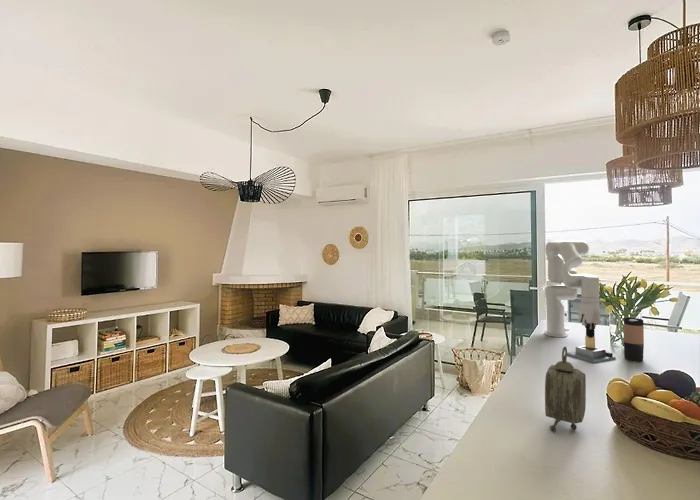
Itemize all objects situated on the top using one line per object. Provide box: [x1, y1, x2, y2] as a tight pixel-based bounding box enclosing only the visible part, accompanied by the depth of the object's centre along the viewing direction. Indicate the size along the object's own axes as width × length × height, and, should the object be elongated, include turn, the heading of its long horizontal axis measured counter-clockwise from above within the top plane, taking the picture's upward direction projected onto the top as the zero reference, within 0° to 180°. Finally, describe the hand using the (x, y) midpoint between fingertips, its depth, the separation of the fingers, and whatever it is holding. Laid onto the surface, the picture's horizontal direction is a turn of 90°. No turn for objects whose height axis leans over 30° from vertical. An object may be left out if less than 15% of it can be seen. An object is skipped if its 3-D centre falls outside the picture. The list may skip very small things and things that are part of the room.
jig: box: [567, 344, 617, 364], centre depth 176 cm, size 16×14×4 cm
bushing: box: [584, 335, 596, 350], centre depth 176 cm, size 4×4×9 cm
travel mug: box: [623, 317, 645, 363], centre depth 171 cm, size 8×8×20 cm
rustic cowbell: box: [544, 346, 587, 432], centre depth 108 cm, size 14×9×25 cm, turn 141°
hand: (590, 336), depth 176 cm, fingers closed
